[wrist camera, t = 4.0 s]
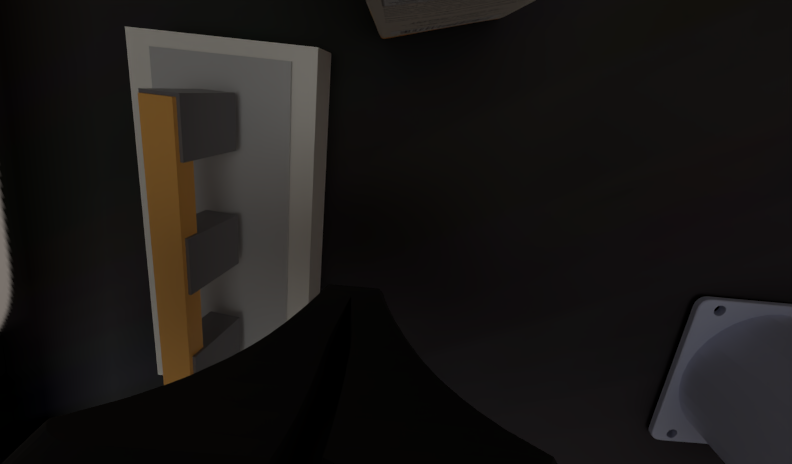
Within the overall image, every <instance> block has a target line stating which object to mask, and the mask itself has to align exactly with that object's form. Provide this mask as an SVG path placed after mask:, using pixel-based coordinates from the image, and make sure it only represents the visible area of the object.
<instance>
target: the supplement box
mask: <svg viewBox="0 0 792 464" xmlns="http://www.w3.org/2000/svg"><path fill="white" fill-rule="evenodd" d="M533 1H535V0H366V2H367V5H368V7H369V10H370V13H371V15H372V17H373V20H374V22H375V25H376V27H377V30H378V33H379V35H380V37H381V38H382V39H387V38H393V37H398V36H404V35H409V34H415V33H419V32H425V31H431V30H436V29H441V28H447V27H453V26H458V25H464V24H470V23H476V22H482V21H488V20H494V19H500V18H503V17H504V16H506V15H508V14H510V13H512V12H514V11H516V10H518V9H520V8H522V7H524V6H526V5H527V4H529V3H531V2H533Z"/></svg>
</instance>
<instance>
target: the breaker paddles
mask: <svg viewBox="0 0 792 464" xmlns="http://www.w3.org/2000/svg"><path fill="white" fill-rule="evenodd" d="M138 92H139V93H138V103H139V114H140V125H141V136H142V147H143V158H144V169H145V180H146V191H147V202H148V213H149V224H150V235H151V246H152V257H153V268H154V279H155V290H156V302H157V313H158V324H159V335H160V346H161V357H162V368H163V379H164V385H166V384H169V383H172V382H174V381H177V380H179V379H182V378H185V377H187V376H190V375H192V374H194V373H196V372H198V371H201V370H203V369H205V368H207V367H209V366H212V365H214V364H216V363H218V362H220V361H223V360H225V359H227V358H229V357H231V356H233V355H235V354H237V353H238V352H240V317H236V316H231V315H226V314H221V313H217V312H212V311H210V312H209V313H208V314H207V315H205V316H204V317H203V318H202V315H201V296H200V289H201V288H203V287H204V286H206V285H207V284H209V283H210V282H212V281H213V280H215V279H216V278H218V277H219V276H221V275H222V274H224V273H225V272H226V271H228V270H229V269H231V268H232V267H234V266H235V265H237V264H238V263H239V254H238V215H235V214H229V213H223V212H217V211H211V210H204V211H202V212H199V213H197V214H196V202H195V183H194V165H193V161H194V160H198V159H202V158H207V157H211V156H215V155H220V154H224V153H228V152H233V151H236V107H235V93H232V92H224V91H215V90H207V89H171V88H138Z"/></svg>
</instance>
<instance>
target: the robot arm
mask: <svg viewBox="0 0 792 464" xmlns="http://www.w3.org/2000/svg"><path fill="white" fill-rule="evenodd" d="M718 306H720V307H719V308H718V310H716V311H714V310H715V308H716V307H718ZM648 430H649V432H650V434H651V435H652V437H653V438H655V439H657V440H667V441H679V442H692V443H704V444H709V445H710V446H711V448H712V449H713V450H714V451H715V452H716V453H717V455H718V456H719V457H720V458H721V459H722V460H723V462H724V463H725V464H792V304H786V303H776V302H765V301H754V300H743V299H732V298H721V297H710V296H705V297H701V298H699V299H698V300H696V301H695V303H694V305H693V307H692V310H691V313H690V315H689V318H688V321H687V323H686V326H685V329H684V332H683V334H682V337H681V340H680V343H679V345H678V348H677V351H676V354H675V356H674V359H673V362H672V364H671V367H670V370H669V373H668V375H667V378H666V381H665V384H664V386H663V389H662V392H661V395H660V397H659V400H658V403H657V406H656V408H655V411H654V414H653V416H652V419H651V422H650V425H649V429H648ZM669 430H670V431H669ZM2 464H557V463H556V461H555V459H554V457H552V456H551V455H549V454H547V453H545V452H544V451H542V450H540V449H538V448H537V447H535V446H533V445H531V444H530V443H528V442H526V441H524V440H523V439H521V438H519V437H517V436H516V435H514V434H512V433H510V432H509V431H507V430H505V429H504V428H502V427H501V426H499V425H498V424H496V423H495V422H493V421H492V420H490V419H489V418H487V417H486V416H485V415H483V414H482V413H480V412H479V411H477V410H476V409H475V408H473V407H472V406H471V405H470V404H468V403H467V402H466V401H464V400H463V399H462V398H461V397H459V396H458V395H457V394H456V393H455V392H454V391H453V390H451V389H450V388H449V387H448V386H447V385H446V384H444V383H443V382H442V381H441V380H440V379H439V378H438V377H437V376H436V375H435V374H434V373H433V372H432V371H431V370H430V369H429V368H428V366H427V365H426V364H425V363H424V362H423V361H422V360H421V358H420V357H419V356H418V355H417V353H416V352H415V351H414V349H413V348H412V346H411V345H410V344H409V342H408V341H407V339H406V338H405V336H404V335H403V333H402V332H401V330H400V328H399V327H398V325H397V323H396V322H395V320H394V318H393V316H392V315H391V313H390V310H389V308H388V306H387V304H386V302H385V299H384V296H383V293H382V292H381V291H380V289H375V288H364V287H353V286H342V285H328V286H327V287H326V288H325V289H323V290H322V291H321V292H320V293H319V294H318V295H317V296H316V297H315V298H314V299H313V300H311V301H310V302H309V303H308V304H307V305H306V306H305V307H304V308H302V309H301V310H300V311H299V312H297V313H296V314H295V315H294V316H293V317H291V318H290V319H289V320H288V321H286V322H285V323H284V324H282V325H281V326H280V327H278V328H277V329H275V330H274V331H273V332H271V333H270V334H269V335H267V336H265V337H264V338H262V339H261V340H259V341H258V342H256V343H254V344H253V345H251V346H249V347H247V348H246V349H244V350H242V351H240V352H238V353H237V354H235V355H233V356H231V357H229V358H227V359H225V360H223V361H220V362H218V363H216V364H214V365H212V366H209V367H207V368H205V369H203V370H201V371H198V372H196V373H194V374H192V375H190V376H187V377H185V378H182V379H179V380H177V381H174V382H172V383H169V384H166V385H164V386H161V387H158V388H155V389H152V390H149V391H146V392H143V393H140V394H137V395H134V396H131V397H128V398H124V399H121V400H118V401H114V402H110V403H107V404H103V405H99V406H95V407H92V408H88V409H84V410H81V411H77V412H73V413H70V414H66V415H62V416H57V417H53V418H49V419H48V420H47V421H46V422H45V423H44V424H43V425H41V426H40V427H39V428H38V429H37V430H36V431H35V432H34V433H33V434H32V435H31V436H30V437H29V438H28V439H27V440H26V441H25V442H24V443H23V444H21V445H20V446H19V447H18V448H17V449H16V450H15V451H14V452H13V453H12V454H11V455H10V456H9V457H8V458H7V459H6V460H5V461H4V462H3V463H2Z"/></svg>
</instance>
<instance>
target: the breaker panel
mask: <svg viewBox="0 0 792 464" xmlns="http://www.w3.org/2000/svg"><path fill="white" fill-rule="evenodd" d="M125 33H126V43H127V54H128V64H129V75H130V85H131V96H132V106H133V117H134V127H135V138H136V148H137V159H138V169H139V180H140V190H141V201H142V211H143V222H144V232H145V243H146V253H147V264H148V274H149V284H150V295H151V305H152V316H153V326H154V337H155V347H156V358H157V368H158V375H163V368H162V357H161V346H160V335H159V324H158V313H157V302H156V290H155V279H154V268H153V257H152V246H151V235H150V224H149V213H148V202H147V191H146V180H145V169H144V158H143V147H142V136H141V125H140V114H139V103H138V93H139V92H138V88H171V89H207V90H215V91H224V92H232V93H235V107H236V151H233V152H228V153H224V154H220V155H215V156H211V157H207V158H202V159H198V160H194V161H193V165H194V183H195V202H196V214H197V213H199V212H202V211H204V210H211V211H217V212H223V213H229V214H235V215H238V254H239V263H238V264H237V265H235V266H234V267H232V268H231V269H229V270H228V271H226V272H225V273H224V274H222V275H221V276H219V277H218V278H216V279H215V280H213V281H212V282H210V283H209V284H207V285H206V286H204V287H203V288H201V289H200V296H201V315H202V318H203V317H204V316H205V315H207V314H208V313H209V312H210V311H212V312H217V313H221V314H226V315H231V316H236V317H240V351H242V350H244V349H246V348H247V347H249V346H251V345H253V344H254V343H256V342H258V341H259V340H261V339H262V338H264V337H265V336H267V335H269V334H270V333H271V332H273V331H274V330H275V329H277V328H278V327H280V326H281V325H282V324H284V323H285V322H286V321H288V320H289V319H290V318H291V317H293V316H294V315H295V314H296V313H297V312H299V311H300V310H301V309H302V308H304V307H305V306H306V305H307V304H308V303H309V302H310V301H311V300H313V299H314V298H315V297H316V296H317V295H318V294H319V293H320V283H321V262H322V241H323V220H324V199H325V178H326V157H327V136H328V115H329V94H330V73H331V53H330V52H327V51H325V50H323V49H321V48H318V47H310V46H300V45H291V44H282V43H273V42H263V41H254V40H245V39H236V38H226V37H217V36H208V35H199V34H189V33H180V32H171V31H162V30H152V29H143V28H134V27H125Z"/></svg>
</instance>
